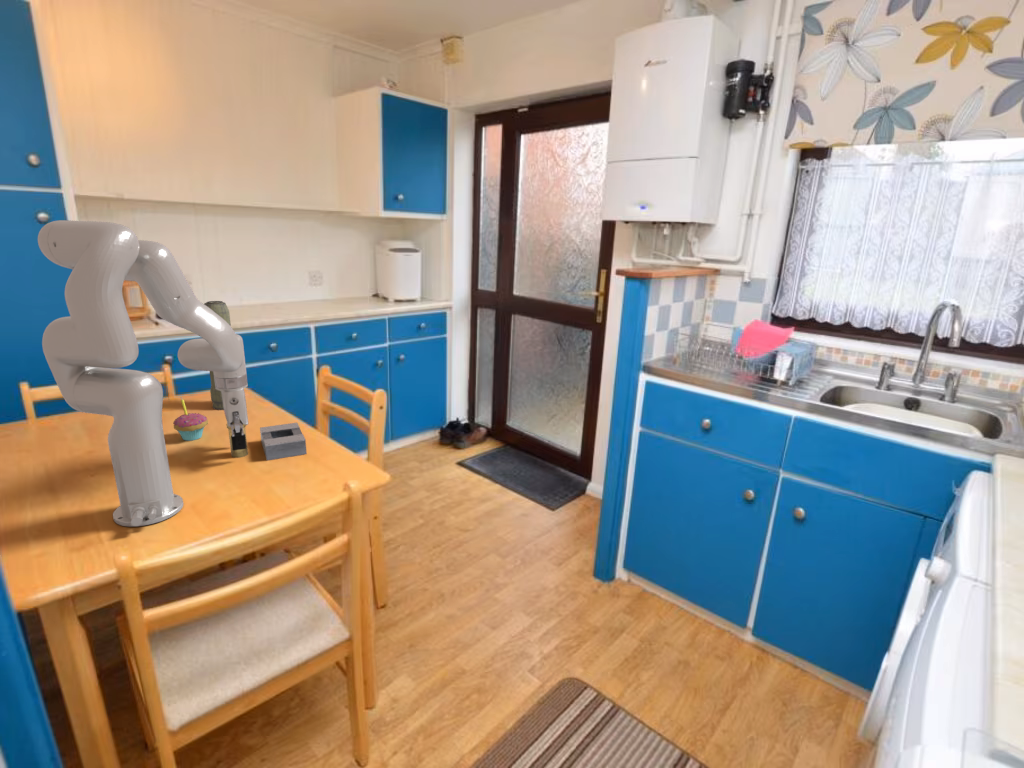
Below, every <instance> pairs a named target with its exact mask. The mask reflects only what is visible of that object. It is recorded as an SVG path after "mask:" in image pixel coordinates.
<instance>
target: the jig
mask: <svg viewBox="0 0 1024 768" xmlns="http://www.w3.org/2000/svg"><path fill="white" fill-rule="evenodd" d="M259 431H260V432H259V433H260V441H261V445H262V449H263V452H264V455H265V459H266V461H271V460H278V459H284V458H291V457H298V456H302V455H307V454H308V453H307V441H306V438H305V436H304V433H303V431H301V427H300V425H299V423H298V422H291V423H290V422H289V423H284V424H276V425H270V426H262V427H259Z"/></svg>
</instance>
